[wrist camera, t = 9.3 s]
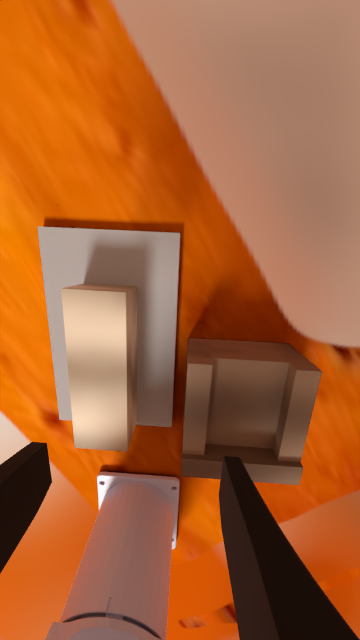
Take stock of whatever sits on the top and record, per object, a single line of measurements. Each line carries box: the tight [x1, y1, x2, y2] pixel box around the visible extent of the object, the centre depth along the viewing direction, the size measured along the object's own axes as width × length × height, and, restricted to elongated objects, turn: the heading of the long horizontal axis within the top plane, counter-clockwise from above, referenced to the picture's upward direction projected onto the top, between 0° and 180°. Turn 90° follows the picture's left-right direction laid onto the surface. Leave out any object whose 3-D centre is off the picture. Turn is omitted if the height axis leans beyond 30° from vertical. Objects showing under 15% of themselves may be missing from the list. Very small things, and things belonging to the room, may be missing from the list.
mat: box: [38, 227, 180, 427], centre depth 18 cm, size 16×10×1 cm, turn 177°
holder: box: [181, 338, 322, 485], centre depth 17 cm, size 8×8×5 cm
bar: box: [61, 283, 137, 452], centre depth 17 cm, size 12×4×3 cm, turn 177°
